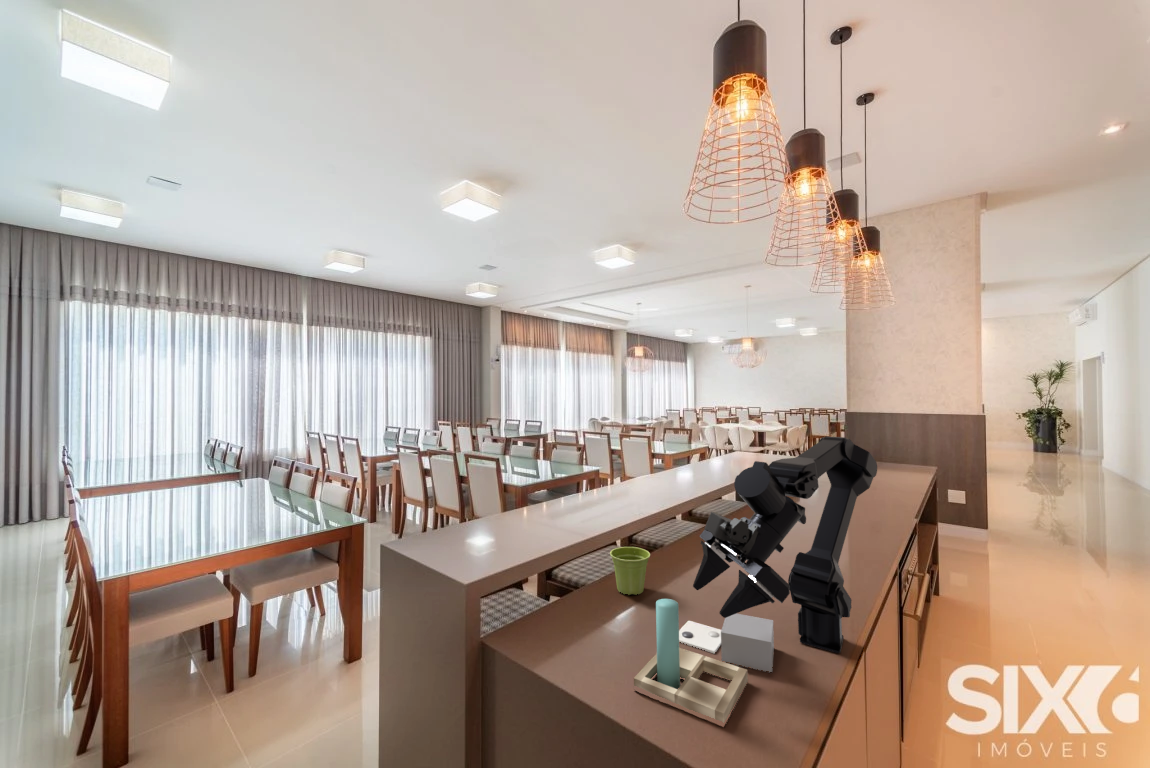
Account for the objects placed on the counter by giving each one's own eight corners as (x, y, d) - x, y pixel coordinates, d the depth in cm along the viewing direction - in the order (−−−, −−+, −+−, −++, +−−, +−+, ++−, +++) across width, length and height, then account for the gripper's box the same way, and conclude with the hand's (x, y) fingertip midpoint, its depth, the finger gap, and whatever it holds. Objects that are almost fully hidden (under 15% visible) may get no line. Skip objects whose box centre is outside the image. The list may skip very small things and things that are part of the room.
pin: (683, 684, 73) (681, 602, 73) (674, 696, 70) (672, 610, 70) (663, 677, 75) (661, 596, 75) (653, 688, 72) (652, 605, 72)
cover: (773, 648, 83) (773, 620, 83) (772, 672, 75) (771, 642, 75) (727, 638, 86) (726, 611, 86) (721, 661, 79) (720, 632, 79)
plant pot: (624, 578, 114) (624, 543, 115) (658, 588, 108) (657, 551, 109) (602, 591, 107) (602, 554, 107) (637, 603, 101) (636, 563, 101)
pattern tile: (728, 633, 88) (728, 630, 88) (714, 653, 81) (714, 650, 81) (688, 622, 92) (688, 619, 92) (672, 640, 86) (672, 637, 86)
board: (747, 682, 73) (747, 669, 73) (724, 728, 63) (723, 713, 63) (666, 654, 81) (665, 643, 81) (634, 691, 71) (633, 678, 71)
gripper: (708, 483, 84) (652, 548, 82) (769, 512, 66) (699, 597, 64) (748, 521, 86) (694, 587, 84) (819, 561, 67) (752, 645, 65)
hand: (707, 601), depth 74 cm, fingers open, 9 cm apart
